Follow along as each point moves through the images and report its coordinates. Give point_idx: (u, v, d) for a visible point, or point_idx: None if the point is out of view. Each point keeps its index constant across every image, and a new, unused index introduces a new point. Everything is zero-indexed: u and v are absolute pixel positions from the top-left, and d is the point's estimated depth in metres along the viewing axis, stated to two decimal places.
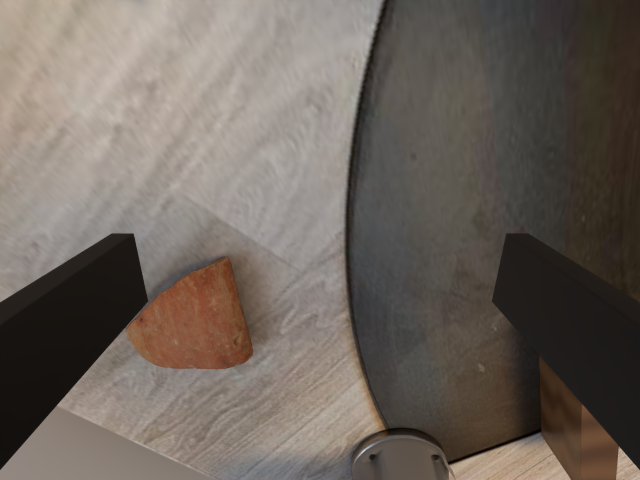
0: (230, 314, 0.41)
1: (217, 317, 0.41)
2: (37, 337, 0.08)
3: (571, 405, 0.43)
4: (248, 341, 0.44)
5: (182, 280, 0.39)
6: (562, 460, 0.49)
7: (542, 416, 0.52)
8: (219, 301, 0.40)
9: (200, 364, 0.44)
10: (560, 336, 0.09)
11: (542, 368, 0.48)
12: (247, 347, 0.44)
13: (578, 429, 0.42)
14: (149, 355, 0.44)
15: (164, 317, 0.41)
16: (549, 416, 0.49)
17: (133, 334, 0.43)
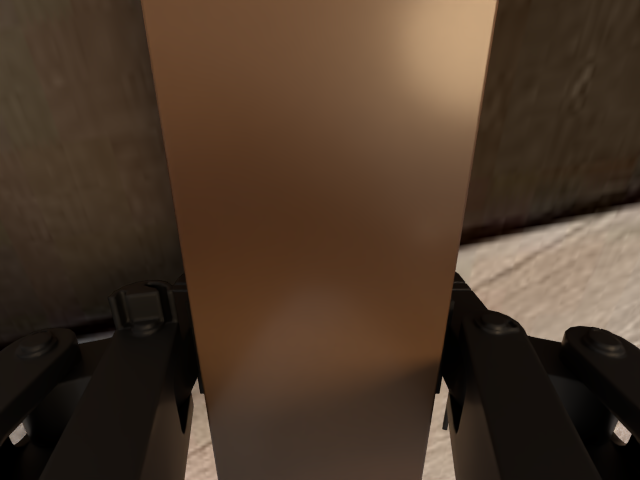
0: None
1: None
2: None
3: None
4: None
5: None
6: None
7: None
8: None
9: None
10: None
11: None
12: None
13: None
14: None
15: None
16: None
17: None
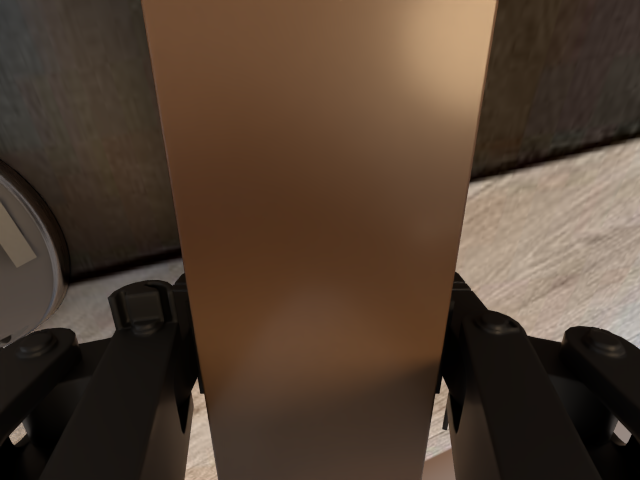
0: None
1: None
2: None
3: None
4: None
5: None
6: None
7: None
8: None
9: None
10: None
11: None
12: None
13: None
14: None
15: None
16: None
17: None
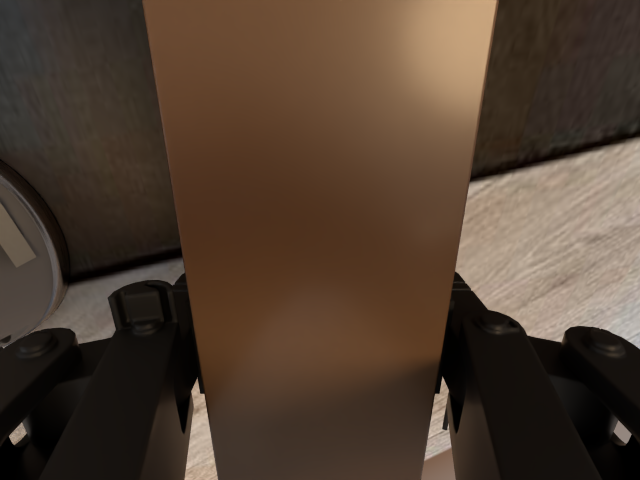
0: None
1: None
2: None
3: None
4: None
5: None
6: None
7: None
8: None
9: None
10: None
11: None
12: None
13: None
14: None
15: None
16: None
17: None
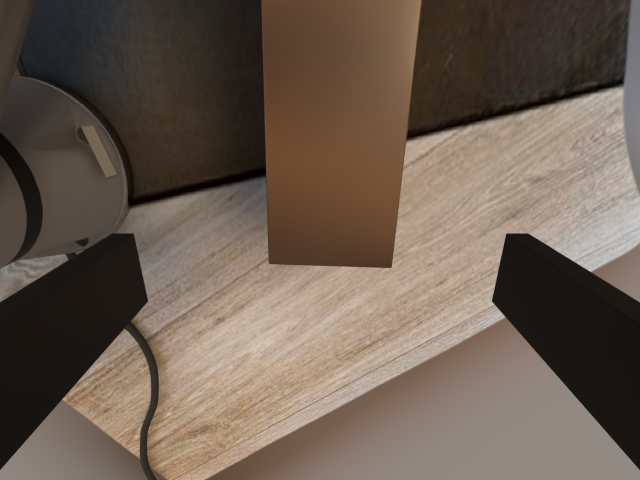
0: None
1: None
2: (38, 337, 0.08)
3: None
4: None
5: None
6: None
7: None
8: None
9: None
10: (560, 336, 0.09)
11: None
12: None
13: None
14: None
15: None
16: None
17: None
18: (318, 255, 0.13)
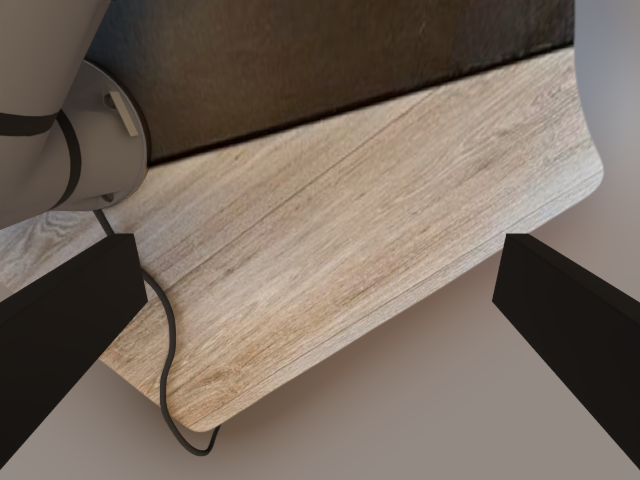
0: None
1: None
2: (37, 337, 0.08)
3: None
4: None
5: None
6: None
7: None
8: None
9: None
10: (560, 336, 0.09)
11: None
12: None
13: None
14: None
15: None
16: None
17: None
18: None
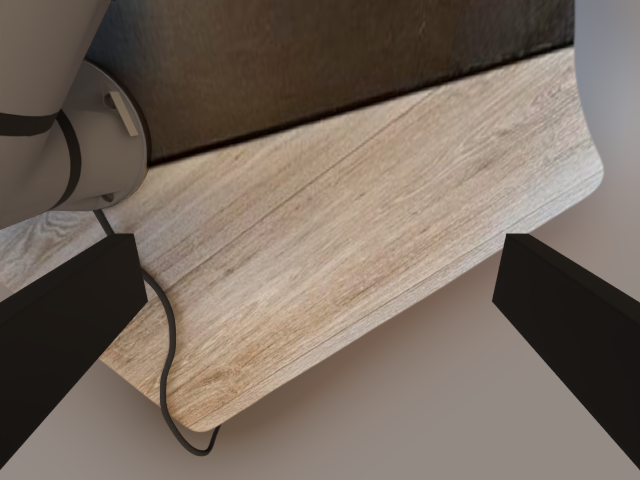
0: None
1: None
2: (37, 337, 0.08)
3: None
4: None
5: None
6: None
7: None
8: None
9: None
10: (560, 336, 0.09)
11: None
12: None
13: None
14: None
15: None
16: None
17: None
18: None
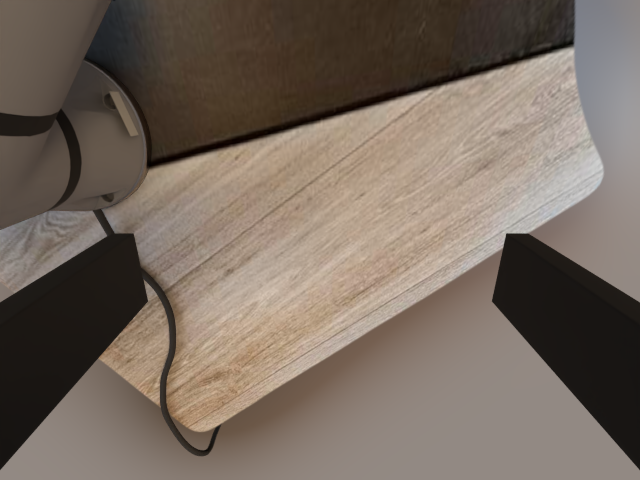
0: None
1: None
2: (37, 337, 0.08)
3: None
4: None
5: None
6: None
7: None
8: None
9: None
10: (560, 336, 0.09)
11: None
12: None
13: None
14: None
15: None
16: None
17: None
18: None
